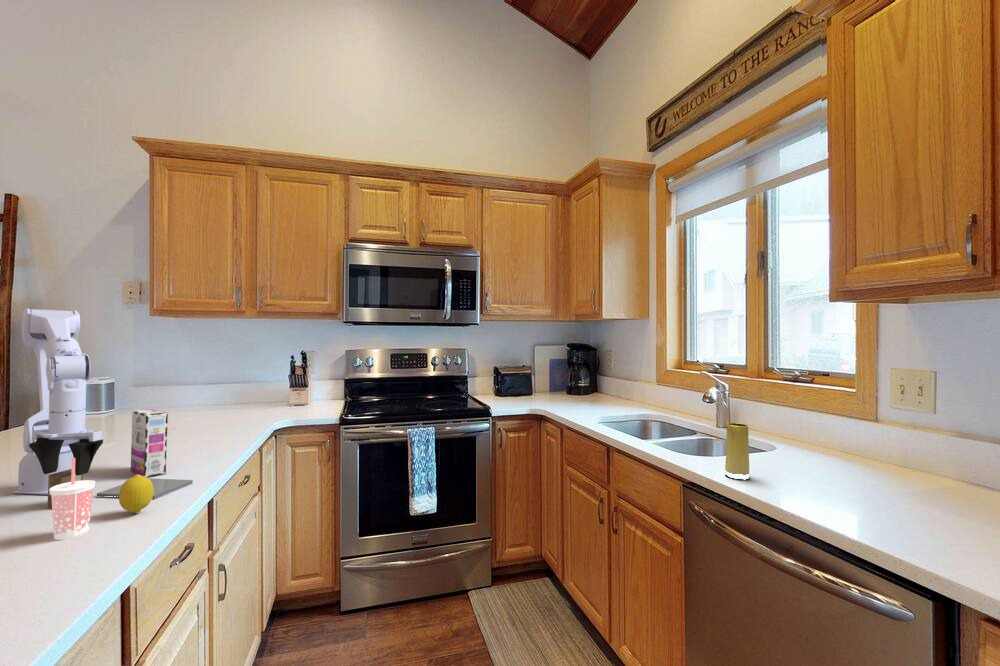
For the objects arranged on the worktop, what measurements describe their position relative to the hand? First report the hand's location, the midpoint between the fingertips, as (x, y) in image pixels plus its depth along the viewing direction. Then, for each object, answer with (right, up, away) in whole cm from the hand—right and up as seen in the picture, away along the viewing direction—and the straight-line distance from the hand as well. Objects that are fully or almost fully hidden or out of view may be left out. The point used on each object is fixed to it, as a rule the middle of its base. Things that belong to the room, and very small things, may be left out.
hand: (66, 473), depth 95 cm
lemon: (+19, -7, -5) cm, 21 cm away
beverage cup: (+15, -7, -14) cm, 22 cm away
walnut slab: (0, -7, 0) cm, 7 cm away
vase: (+159, -9, +24) cm, 161 cm away
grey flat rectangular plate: (+10, -7, +9) cm, 15 cm away
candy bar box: (0, -7, +22) cm, 24 cm away
